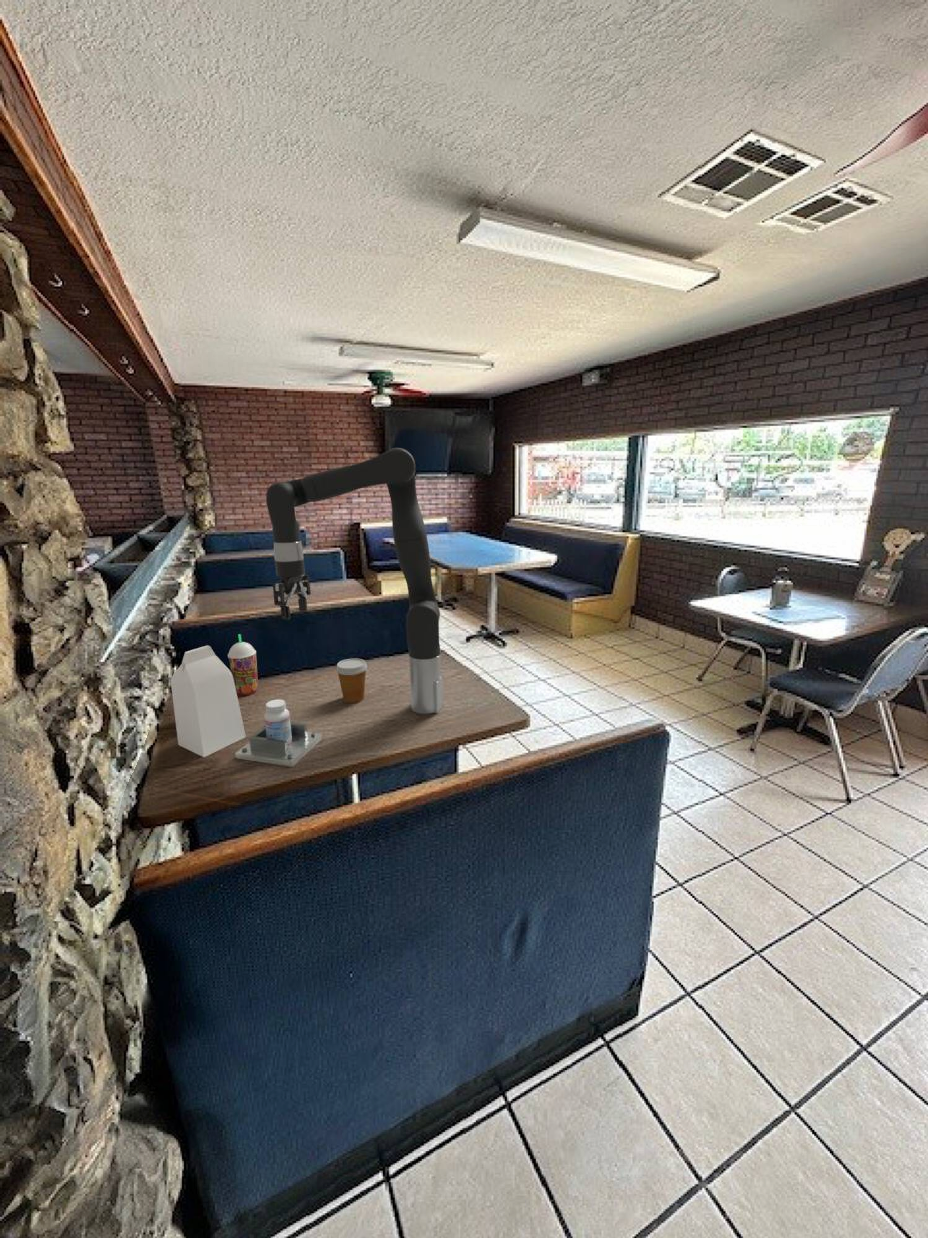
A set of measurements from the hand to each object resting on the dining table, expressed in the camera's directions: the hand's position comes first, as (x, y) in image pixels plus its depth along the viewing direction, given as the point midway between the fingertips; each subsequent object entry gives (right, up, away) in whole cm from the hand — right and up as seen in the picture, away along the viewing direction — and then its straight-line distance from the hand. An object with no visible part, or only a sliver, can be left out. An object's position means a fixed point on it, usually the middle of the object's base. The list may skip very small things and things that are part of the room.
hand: (295, 615), depth 143 cm
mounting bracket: (0, -35, -11) cm, 36 cm away
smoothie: (-23, -25, +22) cm, 41 cm away
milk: (-20, -34, -7) cm, 40 cm away
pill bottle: (0, -33, -12) cm, 35 cm away
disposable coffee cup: (+13, -27, +17) cm, 34 cm away
